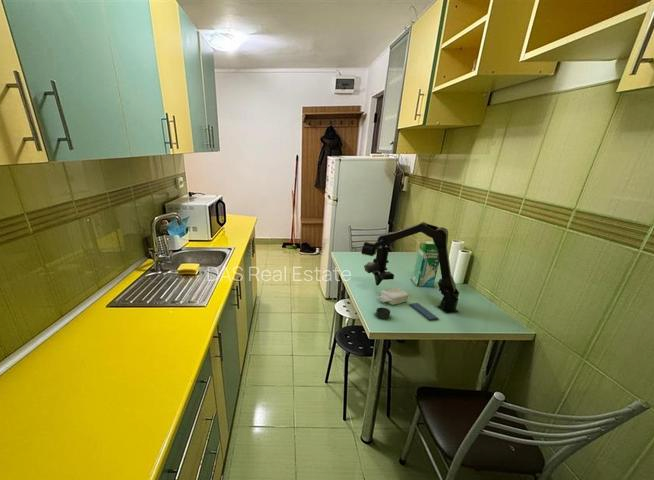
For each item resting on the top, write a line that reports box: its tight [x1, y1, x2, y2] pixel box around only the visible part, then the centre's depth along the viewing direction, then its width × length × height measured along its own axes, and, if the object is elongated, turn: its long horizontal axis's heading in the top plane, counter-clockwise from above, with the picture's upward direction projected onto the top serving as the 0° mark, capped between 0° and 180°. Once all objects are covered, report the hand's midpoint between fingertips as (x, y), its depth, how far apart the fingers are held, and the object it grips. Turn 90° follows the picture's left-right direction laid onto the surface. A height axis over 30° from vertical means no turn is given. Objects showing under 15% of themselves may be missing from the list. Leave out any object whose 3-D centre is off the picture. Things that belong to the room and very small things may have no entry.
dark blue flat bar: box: [409, 302, 439, 321], centre depth 144 cm, size 4×15×1 cm, turn 13°
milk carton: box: [411, 240, 440, 288], centre depth 170 cm, size 9×9×25 cm
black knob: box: [375, 307, 391, 321], centre depth 139 cm, size 6×6×3 cm
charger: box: [376, 287, 409, 306], centre depth 153 cm, size 5×9×15 cm
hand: (377, 285), depth 163 cm, fingers closed
